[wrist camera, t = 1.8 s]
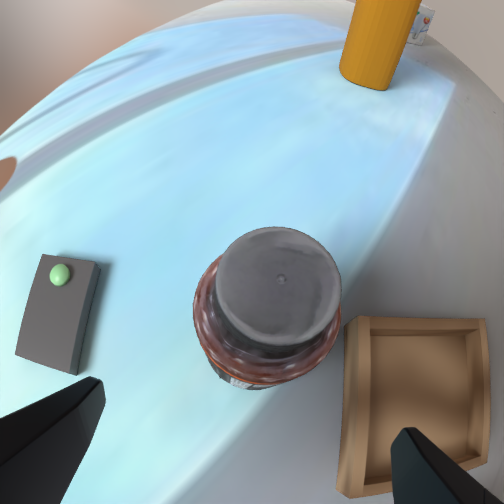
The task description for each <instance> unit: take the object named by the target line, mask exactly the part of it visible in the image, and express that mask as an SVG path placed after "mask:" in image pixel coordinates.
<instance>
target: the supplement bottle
mask: <svg viewBox="0 0 504 504" xmlns="http://www.w3.org/2000/svg"><path fill="white" fill-rule="evenodd" d="M341 291H342V289H341V278H340V274H339V272H338V268H337V266H336V264H335V262H334V260H333V258H332V256H331V255H330V253H329V252H328V251H327V250H326V249H325V248H324V247H323V246H322V245H321V244H320V243H319V242H318V241H316V240H315V239H314V238H312V237H310V236H309V235H307V234H305V233H303V232H300V231H298V230H295V229H291V228H285V227H264V228H260V229H256V230H253V231H251V232H248V233H246V234H244V235H243V236H241V237H239V238H238V239H236V240H235V241H234V242H233V243H232V244H231V245H230V246H229V247H228V248H227V250H226V251H225V252H224V253H223V254H222V255H220V256H219V257H218V258H217V259H216V260H215V261H214V262H213V263H212V264H211V265H210V266H209V267H208V268H207V270H206V271H205V273H204V274H203V275H202V277H201V279H200V281H199V283H198V287H197V289H196V292H195V297H194V302H193V319H194V326H195V329H196V333H197V336H198V338H199V341H200V344H201V346H202V348H203V350H204V351H205V354H206V356H207V358H208V361H209V363H210V364H211V366H212V368H213V369H214V371H215V372H216V373H217V374H218V375H219V377H220V378H222V379H223V380H225V381H226V382H228V383H230V384H232V385H233V386H236V387H239V388H243V389H248V390H261V389H266V388H269V387H272V386H276V385H278V384H281V383H284V382H287V381H290V380H293V379H295V378H298V377H300V376H302V375H304V374H306V373H307V372H309V371H310V370H312V369H313V368H314V367H316V366H317V365H318V364H319V363H320V362H321V361H322V360H323V359H324V358H325V357H326V355H327V354H328V353H329V351H330V350H331V348H332V347H333V345H334V343H335V340H336V338H337V335H338V332H339V328H340V322H341V304H340V299H341Z"/></svg>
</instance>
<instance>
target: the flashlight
mask: <svg viewBox="0 0 504 504" xmlns="http://www.w3.org/2000/svg"><path fill="white" fill-rule="evenodd" d="M421 1H422V0H356V4H355V8H354V12H353V16H352V20H351V23H350V27H349V31H348V34H347V38H346V42H345V45H344V49H343V52H342V56H341V60H340V64H339V69H340V72H341V74H342V75H343V77H344V78H346V79H347V80H349V81H351V82H352V83H355V84H358V85H361V86H364V87H368V88H372V89H376V90H386V89H387V88H388V86H389V84H390V82H391V79H392V77H393V75H394V72H395V70H396V67H397V65H398V62H399V60H400V57H401V55H402V52H403V49H404V47H405V44H406V42H407V39H408V36H409V34H410V31H411V28H412V26H413V23H414V20H415V18H416V15H417V12H418V9H419V6H420V4H421Z"/></svg>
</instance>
